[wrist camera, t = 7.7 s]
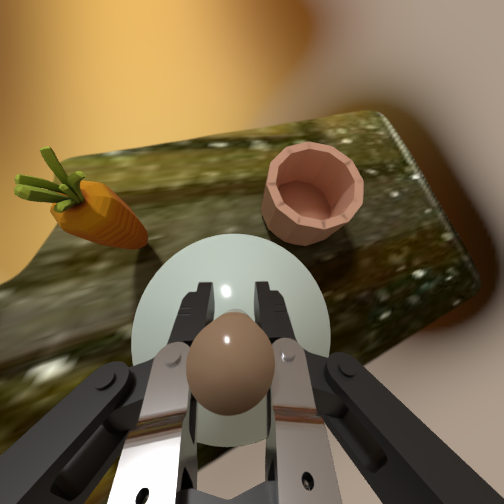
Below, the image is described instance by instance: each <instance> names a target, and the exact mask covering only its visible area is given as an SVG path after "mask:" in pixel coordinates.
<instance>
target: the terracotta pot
mask: <svg viewBox="0 0 504 504" xmlns="http://www.w3.org/2000/svg"><path fill="white" fill-rule="evenodd" d="M362 204H363V179H362V177H361V176H360V174H359V172H358V170H357V168H356V167H355V165H354V163H353V161H352V160H351V159H349V158H348V157H346V156H345V155H344V154H342V153H341V152H339V151H338V150H336V149H335V148H334V147H332V146H328V145H323V144H318V143H313V142H305V143H301V144H297V145H293V146H289V147H286V148H285V149H284V150H283V151H282V152H281V153H280V154H279V155H278V156H277V157H276V158H275V159H274V160H273V161H272V162H271V163H270V167H269V171H268V176H267V181H266V185H265V190H264V195H263V200H262V206H261V212H262V215H263V218H264V220H265V223H266V225H267V228H268V229H269V230H270V231H271V232H272V233H273V234H274V235H275V236H276V237H278V238H279V239H281V240H283V241H284V242H287V243H290V244H294V245H302V246H307V245H310V244H313V243H316V242H319V241H322V240H325V239H326V238H328V237H329V236H330V235H332V234H333V233H334V232H336V231H337V230H338V229H340V228H341V227H342V226H344V225H345V224H346V223H348V222H349V221H350V219H351V218H352V217H353V215H354V214H355V213H356V212H357V210H358V209H359V208H360V206H361V205H362Z"/></svg>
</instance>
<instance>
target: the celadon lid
mask: <svg viewBox="0 0 504 504" xmlns="http://www.w3.org/2000/svg"><path fill="white" fill-rule="evenodd" d="M255 281H268V283H269V287H270V290H278V291H279V292H280V294H281V295H282V296H283V297H284V301H285V304H286V308H287V312H288V314H289V318H290V321H291V324H292V328H293V331H294V334H295V338H296V340H297V342H298V343H299V344H300V345H301V346H302V348H304V349H305V350H307V351H308V352H310V353H313V354H316V355H320V356H324V357H327V358H328V357H329V350H330V323H329V316H328V312H327V307H326V304H325V301H324V298H323V295H322V293H321V291H320V289H319V287H318V285H317V283H316V281H315V279H314V278H313V276H312V275H311V273H310V272H309V271H308V270H307V268H306V267H305V266H304V265H303V264H302V263H301V262H300V261H299V260H298V259H297V258H296V257H295V256H294V255H293V254H291V253H290V252H289V251H287V250H286V249H284V248H283V247H281V246H279V245H277V244H275V243H274V242H271V241H269V240H266V239H264V238H260V237H256V236H252V235H245V234H225V235H217V236H213V237H209V238H205V239H203V240H200V241H197V242H195V243H193V244H191V245H189V246H187V247H185V248H184V249H182V250H181V251H179V252H178V253H176V254H175V255H174V256H173V257H171V258H170V259H169V260H168V261H167V262H166V263H165V264H164V265H163V266H162V267H161V268H160V269H159V270H158V271H157V272H156V274H155V275H154V277H153V278H152V279H151V281H150V282H149V284H148V286H147V287H146V289H145V291H144V293H143V295H142V297H141V300H140V302H139V305H138V307H137V311H136V314H135V318H134V322H133V329H132V349H131V351H132V359H133V366H134V365H137V364H140V363H143V362H146V361H148V360H150V359H152V358H154V357H155V356H156V355H157V353H158V352H159V351H160V350H161V349H162V348H163V347H165V346H166V345H167V343H168V340H169V337H170V334H171V331H172V328H173V325H174V322H175V319H176V316H177V313H178V310H179V309H180V305H181V302H182V299H183V298H184V297H185V295H186V294H187V293H188V292H196V291H197V287H198V283H199V282H213V288H214V300H215V312H214V320H213V321H212V322H211V323H210V324H208V325H207V326H206V327H205V328H203V329H202V330H201V331H200V332H199V334H198V335H197V336H196V338H195V339H194V341H193V343H192V345H191V347H190V349H189V352H188V355H187V361H186V376H187V382H188V385H189V388H190V390H191V392H192V394H193V396H194V397H195V399H196V400H197V401H198V421H197V442H199V443H203V444H207V445H211V446H220V447H235V446H244V445H247V444H252V443H256V442H259V441H261V440H264V439H266V393H267V392H268V390H269V388H270V386H271V384H272V380H273V377H274V372H275V356H274V351H273V347H272V345H271V342H270V340H269V338H268V337H267V335H266V334H265V332H264V331H263V330H262V329H261V328H260V327H259V326H258V325H257V324H256V323H255V317H254V288H255Z"/></svg>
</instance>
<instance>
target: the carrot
mask: <svg viewBox="0 0 504 504" xmlns="http://www.w3.org/2000/svg"><path fill="white" fill-rule="evenodd" d="M40 151H41V154H42V156H43V158H44V160H45V161H46V163H47V164H48V166H49V167H50V169H51V170H52V171H53V172H54V173H55V175H56V176H57V177H58V178H59V180H60V181H61V182H62V183H63V184H62V185H58V184H55V183H53V182H50V181H48V180H45V179H41V178H37V177H33V176H26V175H20V174H18V175H17V176H16V177H15V182H16V184H17V186H16V187H15V190H14V191H15V195H17V196H18V197H20V198H22V199H26V200H29V201H37V202H49V203H53V204H52V206H51V210H50V212H51V213H52V215H53V216H54V218H55V219H56V221H57V222H58V224H59V225H60V227H61V228H62V229H63V230H64V231H66V232H67V233H70V234H72V235H75V236H78V237H80V238H83V239H86V240H89V241H92V242H95V243H98V244H101V245H105V246H110V247H117V248H125V249H140V248H142V247H144V246H145V245H147V241H148V234H147V231H146V229H145V228H144V226H143V225H142V223H141V222H140V221H139V219H138V218H137V217H136V215H135V214H134V213H133V211H132V210H131V209H130V208H129V207H128V206H127V205H126V204H125V203H124V202H123V201H122V200H121V199H120V198H119V197H118V196H117V195H116V194H115V193H114V192H113V191H112V190H111V189H110V188H109V187H108V186H106V185H105V184H102V183H98V182H89V181H81V180H82V179H83V178H85V177H86V175H85V174H84V173H83V172H81V171H77V172H75V173H73V174H71V175H70V176H67V174H66V172H65V171H64V169H63V167H62V166H61V164H60V163H59V161H58V159H57V157H56V155H55V153H54V152H53V150H52V149H51V147H43V148H41V149H40ZM37 187H38V188H37ZM41 188H44V189H41ZM45 189H48V190H45ZM49 190H51V191H49ZM52 191H55V192H57V193H55V192H52Z"/></svg>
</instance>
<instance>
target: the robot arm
mask: <svg viewBox="0 0 504 504" xmlns="http://www.w3.org/2000/svg"><path fill="white" fill-rule="evenodd" d="M214 312H215V300H214V288H213V282H199V283H198V287H197V291H196V292H188V293H187V294H186V295H185V297H184V298H183V299H182V302H181V305H180V309H179V310H178V313H177V316H176V319H175V322H174V325H173V328H172V331H171V334H170V337H169V340H168V343H167V345H166V346H165V347H163V348H162V349H161V350H160V351H159V352H158V353H157V355H156V356H155V357H154V358H152V359H150V360H148V361H146V362H143V363H140V364H137V365H134V366H131V367H128V366H127V365H126V364H125V363H123V362H119V361H116V362H110V363H107V364H105V365H103V366H101V367H100V368H98V369H97V370H95V371H94V372H93V373H92V374H91V375H90V376H88V377H87V378H86V379H85V380H84V381H83V382H82V383H81V384H80V385H78V386H77V387H76V388H75V389H74V390H73V391H72V392H71V393H70V394H68V395H67V396H66V397H65V398H64V399H63V400H62V401H61V402H60V403H59V404H57V405H56V406H55V407H54V408H53V409H52V410H51V411H50V412H49V413H47V414H46V415H45V416H44V417H43V418H42V419H41V420H40V421H39V422H37V423H36V424H35V425H34V426H33V427H32V428H31V429H30V430H29V431H28V432H26V433H25V434H24V435H23V436H22V437H21V438H20V439H19V440H18V441H16V442H15V443H14V444H13V445H12V446H11V447H10V448H9V449H8V450H7V451H5V452H4V453H3V454H2V455H1V456H0V504H84V502H85V501H86V500H87V498H88V497H89V495H90V494H91V493H92V491H93V490H94V489H95V487H96V486H97V485H98V483H99V482H100V480H101V479H102V478H103V476H104V475H105V474H106V472H107V471H108V469H109V468H110V467H111V465H112V464H113V463H114V461H115V460H116V458H117V457H118V456H119V454H120V453H121V452H122V454H121V457H120V461H119V464H118V468H117V472H116V475H115V479H114V482H113V486H112V490H111V493H110V497H109V500H108V504H142V502H143V500H144V498H145V497H146V496H147V503H146V504H342V500H341V495H340V491H339V486H338V481H337V477H336V472H335V468H334V463H333V458H332V454H331V449H330V445H329V440H328V436H327V431H326V427H325V424H326V425H327V427H328V428H329V429H330V431H331V432H332V434H333V435H334V436H335V438H336V439H337V441H338V442H339V443H340V445H341V446H342V448H343V449H344V450H345V452H346V453H347V454H348V456H349V457H350V459H351V460H352V461H353V463H354V464H355V466H356V467H357V468H358V470H359V471H360V473H361V474H362V475H363V477H364V478H365V480H366V481H367V482H368V484H369V485H370V486H371V488H372V489H373V491H374V492H375V493H376V495H377V496H378V498H379V499H380V500H381V502H382V503H383V504H504V498H502V497H501V496H500V495H499V494H498V493H497V492H496V491H495V490H494V489H493V488H492V487H491V486H490V485H489V484H488V483H487V482H486V481H484V480H483V479H482V478H481V477H480V476H479V475H478V474H477V473H476V472H475V471H474V470H473V469H472V468H471V467H470V466H469V465H467V464H466V463H465V462H464V461H463V460H462V459H461V458H460V457H459V456H458V455H457V454H456V453H455V452H454V451H453V450H451V449H450V448H449V447H448V446H447V445H446V444H445V443H444V442H443V441H442V440H441V439H440V438H439V437H438V436H437V435H436V434H434V433H433V432H432V431H431V430H430V429H429V428H428V427H427V426H426V425H425V424H424V423H423V422H422V421H421V420H420V419H418V418H417V417H416V416H415V415H414V414H413V413H412V412H411V411H410V410H409V409H408V408H407V407H406V406H405V405H404V404H403V403H402V402H401V401H399V400H398V399H397V398H396V397H395V396H394V395H393V394H392V393H391V392H390V391H389V390H388V389H387V388H386V387H385V386H383V384H382V383H380V382H379V381H378V380H377V379H376V378H375V377H374V376H373V375H372V374H371V373H370V372H369V371H368V370H367V369H366V368H365V367H363V366H362V365H361V364H360V363H359V362H358V361H357V360H356V359H355V358H353V357H352V356H350V355H348V354H346V353H342V352H335V353H333V354H331V355H330V356H329V357H328V358H327V357H324V356H320V355H316V354H313V353H310V352H308V351H307V350H305V349H304V348H302V346H301V345H300V344H299V343H298V342H297V340H296V338H295V334H294V331H293V328H292V324H291V321H290V318H289V314H288V312H287V308H286V304H285V301H284V297H283V296H282V295H281V294H280V292H279V291H278V290H270V287H269V283H268V281H255V288H254V317H255V323H256V324H257V325H258V326H259V327H260V328H261V329H262V330H263V331H264V332H265V334H266V335H267V337H268V338H269V340H270V342H271V345H272V347H273V351H274V356H275V372H274V377H273V380H272V384H271V386H270V388H269V390H268V392H267V393H266V457H265V463H266V464H265V472H266V473H265V480H266V481H265V482H263V483H261V484H259V485H257V486H255V487H253V488H252V489H250V490H248V491H246V492H244V493H242V494H240V495H238V496H237V497H235V498H233V499H230V500H226V499H222V498H219V497H216V496H213V495H210V494H207V493H204V492H201V491H198V490H197V421H198V401H197V400H196V399H195V397H194V396H193V394H192V392H191V390H190V388H189V385H188V382H187V376H186V361H187V355H188V352H189V349H190V347H191V345H192V343H193V341H194V339H195V338H196V336H197V335H198V334H199V332H200V331H201V330H202V329H203V328H205V327H206V326H207V325H208V324H210V323H211V322H212V321H213V320H214ZM324 422H325V424H324ZM309 488H310V491H309Z"/></svg>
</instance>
